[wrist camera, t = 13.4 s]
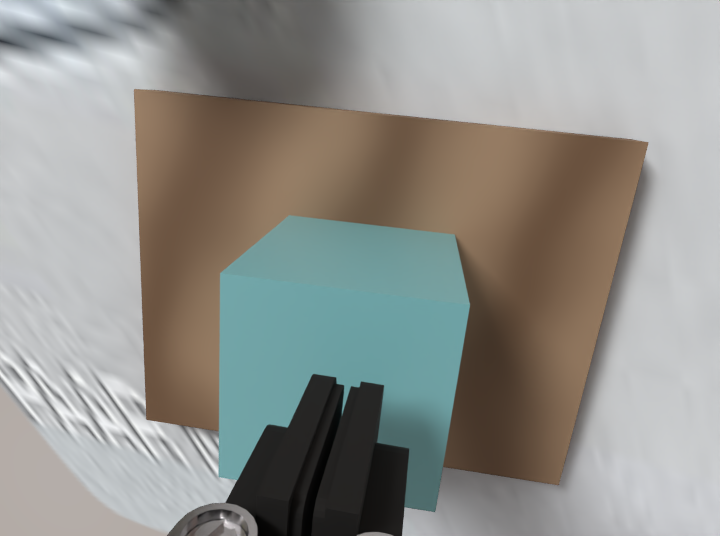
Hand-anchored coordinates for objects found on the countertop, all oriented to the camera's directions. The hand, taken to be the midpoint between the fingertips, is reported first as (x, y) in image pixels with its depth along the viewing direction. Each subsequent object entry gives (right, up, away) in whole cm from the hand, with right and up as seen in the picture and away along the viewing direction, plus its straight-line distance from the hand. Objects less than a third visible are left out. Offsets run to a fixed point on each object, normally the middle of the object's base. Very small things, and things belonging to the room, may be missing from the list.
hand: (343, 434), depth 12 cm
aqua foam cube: (0, +3, +8) cm, 9 cm away
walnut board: (+1, +3, +10) cm, 10 cm away
